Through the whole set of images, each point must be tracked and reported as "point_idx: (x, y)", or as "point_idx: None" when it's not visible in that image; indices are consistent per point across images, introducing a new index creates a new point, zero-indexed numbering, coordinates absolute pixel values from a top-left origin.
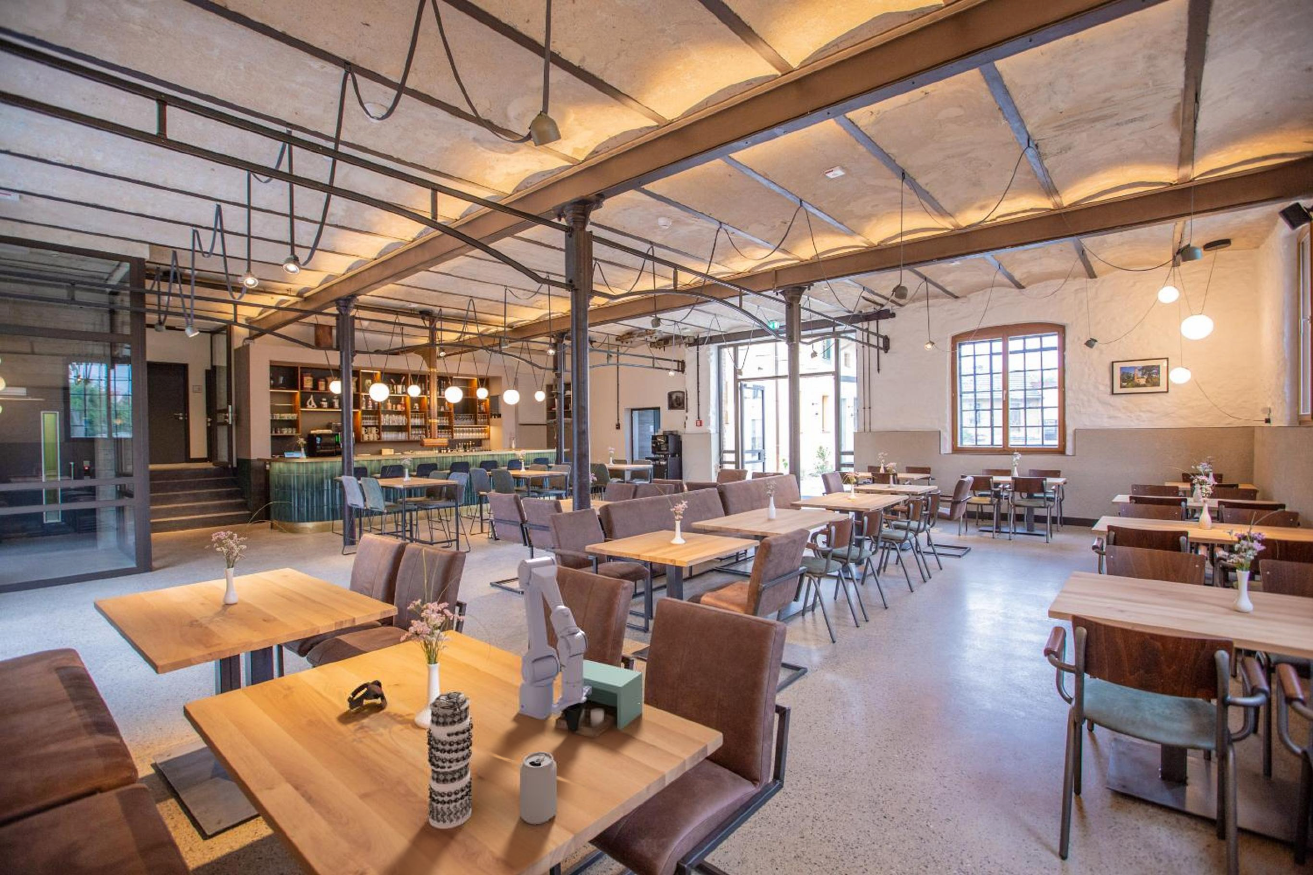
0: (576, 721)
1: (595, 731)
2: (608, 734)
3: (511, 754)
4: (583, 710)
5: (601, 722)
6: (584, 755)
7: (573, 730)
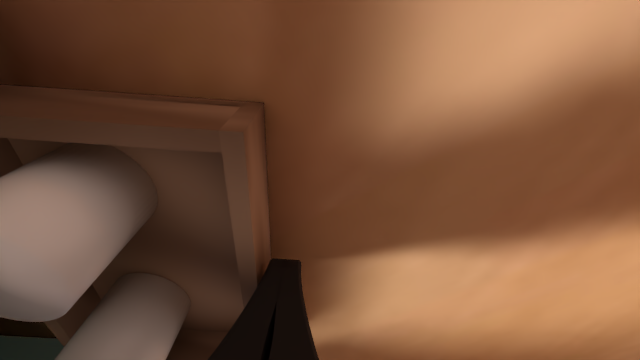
0: (283, 324)
1: (234, 126)
2: (113, 49)
3: (537, 355)
4: (91, 342)
5: (66, 166)
6: (508, 51)
7: (299, 273)
